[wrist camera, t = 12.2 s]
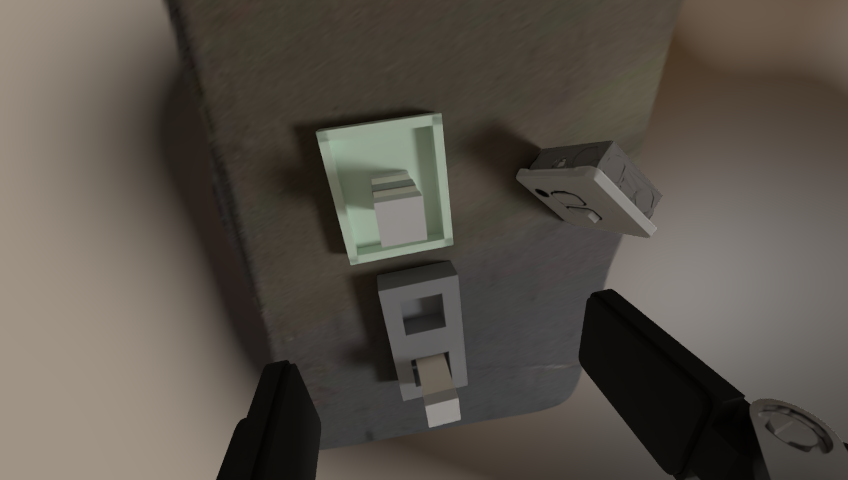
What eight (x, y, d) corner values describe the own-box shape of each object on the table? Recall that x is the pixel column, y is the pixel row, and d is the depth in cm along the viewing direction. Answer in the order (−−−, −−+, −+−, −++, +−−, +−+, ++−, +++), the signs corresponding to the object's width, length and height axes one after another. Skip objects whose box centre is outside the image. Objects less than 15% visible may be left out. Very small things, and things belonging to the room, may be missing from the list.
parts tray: (318, 129, 26) (315, 132, 24) (435, 111, 27) (441, 113, 25) (351, 254, 31) (350, 265, 29) (447, 235, 32) (453, 244, 30)
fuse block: (376, 275, 33) (378, 291, 30) (450, 260, 34) (457, 274, 31) (400, 380, 40) (403, 401, 37) (460, 365, 41) (467, 385, 38)
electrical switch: (510, 175, 31) (573, 195, 23) (543, 130, 30) (621, 134, 22) (567, 223, 35) (639, 256, 26) (597, 184, 34) (683, 205, 25)
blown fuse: (370, 175, 28) (373, 203, 21) (406, 169, 28) (422, 195, 21) (376, 210, 29) (381, 247, 22) (411, 204, 30) (427, 239, 22)
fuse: (412, 346, 37) (425, 406, 30) (439, 340, 38) (458, 398, 30) (416, 366, 39) (429, 427, 32) (442, 360, 39) (460, 419, 32)
